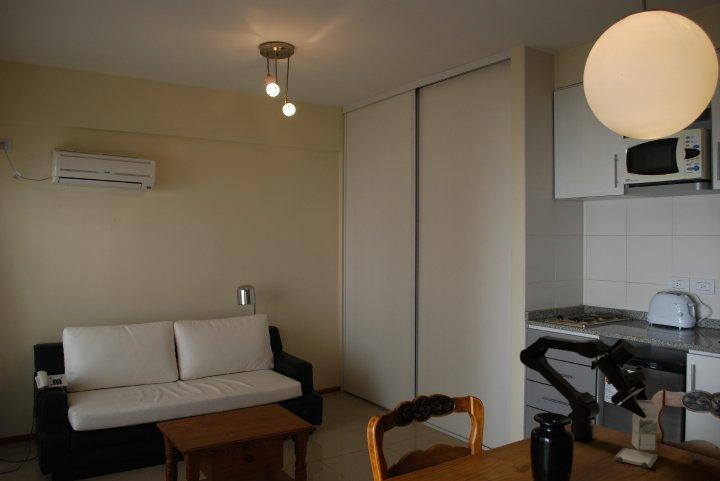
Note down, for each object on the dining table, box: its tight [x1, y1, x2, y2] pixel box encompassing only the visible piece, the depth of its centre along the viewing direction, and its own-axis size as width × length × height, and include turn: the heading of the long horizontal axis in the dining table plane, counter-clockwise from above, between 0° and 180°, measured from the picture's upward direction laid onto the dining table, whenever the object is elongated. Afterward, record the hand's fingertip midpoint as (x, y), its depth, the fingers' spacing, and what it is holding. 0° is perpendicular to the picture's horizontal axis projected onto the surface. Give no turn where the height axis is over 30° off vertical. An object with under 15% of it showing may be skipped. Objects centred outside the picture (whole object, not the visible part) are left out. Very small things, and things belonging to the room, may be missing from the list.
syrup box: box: [630, 399, 659, 452], centre depth 184 cm, size 6×6×14 cm
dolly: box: [614, 446, 658, 469], centre depth 181 cm, size 10×11×2 cm
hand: (649, 414), depth 183 cm, fingers closed on syrup box, 8 cm apart
